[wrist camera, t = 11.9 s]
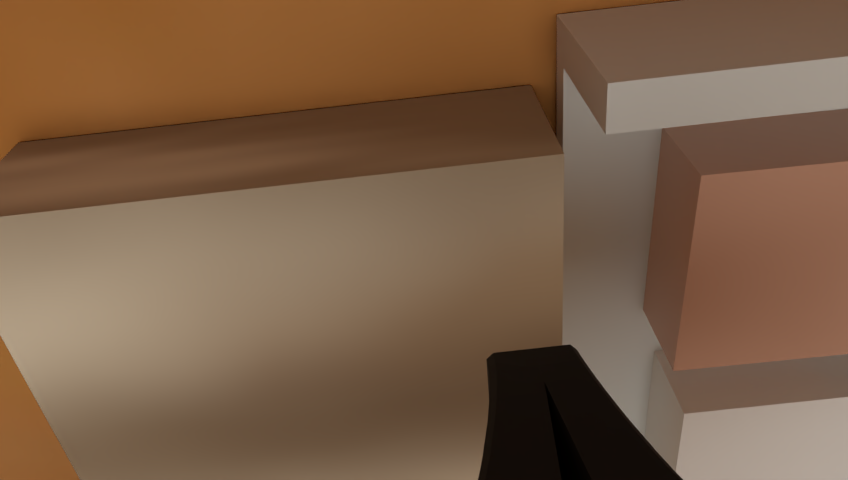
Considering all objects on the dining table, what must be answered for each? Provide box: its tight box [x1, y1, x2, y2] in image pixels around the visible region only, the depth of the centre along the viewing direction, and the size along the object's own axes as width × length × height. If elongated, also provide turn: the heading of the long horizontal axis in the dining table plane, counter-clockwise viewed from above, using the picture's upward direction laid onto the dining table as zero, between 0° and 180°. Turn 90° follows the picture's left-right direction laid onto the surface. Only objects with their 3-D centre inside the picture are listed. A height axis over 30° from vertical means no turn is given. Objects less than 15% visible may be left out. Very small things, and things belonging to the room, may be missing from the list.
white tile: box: [645, 350, 848, 480], centre depth 17 cm, size 4×4×2 cm
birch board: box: [0, 85, 564, 480], centre depth 16 cm, size 12×10×3 cm
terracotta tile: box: [643, 109, 848, 371], centre depth 14 cm, size 4×4×2 cm
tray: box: [556, 0, 848, 437], centre depth 16 cm, size 15×8×4 cm, turn 6°
